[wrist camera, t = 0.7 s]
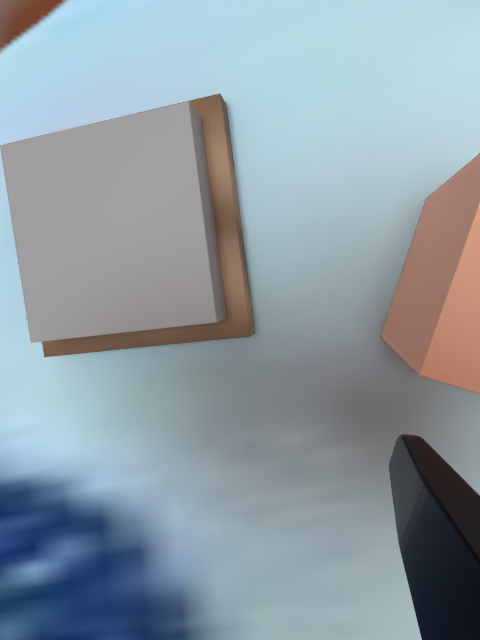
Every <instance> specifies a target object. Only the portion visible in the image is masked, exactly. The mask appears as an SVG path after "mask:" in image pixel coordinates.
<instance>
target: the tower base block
mask: <svg viewBox="0 0 480 640" xmlns="http://www.w3.org/2000/svg"><path fill="white" fill-rule="evenodd" d="M187 102H188V101H187ZM183 103H184V102H183ZM189 103H190V104H191V105H192V107H193V108H194V109H195V111H196V112H197V113H198V114H199V116H200V117H201V118H202V125H203V133H204V141H205V149H206V157H207V165H208V172H209V180H210V188H211V196H212V204H213V212H214V220H215V228H216V236H217V244H218V252H219V260H220V268H221V276H222V283H223V291H224V299H225V307H226V315H227V319H224V320H222V321H219V322H214V323H205V324H196V325H187V326H178V327H169V328H160V329H151V330H142V331H132V332H123V333H114V334H105V335H96V336H87V337H78V338H69V339H60V340H50V341H42V344H43V351H44V357H49V356H59V355H69V354H79V353H88V352H98V351H108V350H118V349H128V348H137V347H147V346H157V345H167V344H177V343H187V342H196V341H206V340H216V339H226V338H236V337H245V336H251V335H252V334H254V326H253V318H252V310H251V301H250V293H249V285H248V277H247V269H246V261H245V253H244V244H243V236H242V228H241V220H240V212H239V204H238V196H237V187H236V179H235V171H234V163H233V155H232V147H231V139H230V131H229V122H228V114H227V106H226V103H225V101H224V100H223V98H222V96H221V94H217V95H212V96H208V97H204V98H200V99H195V100H191V101H189ZM178 104H180V103H178ZM174 105H176V104H174ZM170 106H171V105H170ZM165 107H167V106H165ZM161 108H163V107H161ZM157 109H158V108H157ZM153 110H154V109H153ZM148 111H150V110H148ZM144 112H146V111H144ZM140 113H141V112H140ZM136 114H137V113H136ZM131 115H133V114H131ZM127 116H128V115H127ZM123 117H124V116H123ZM119 118H120V117H119ZM114 119H116V118H114ZM110 120H111V119H110ZM106 121H107V120H106ZM102 122H103V121H102ZM97 123H98V122H97ZM93 124H94V123H93ZM89 125H90V124H89ZM85 126H86V125H85ZM80 127H81V126H80ZM76 128H77V127H76ZM72 129H73V128H72ZM67 130H68V129H67ZM63 131H64V130H63ZM59 132H60V131H59ZM55 133H56V132H55ZM50 134H51V133H50ZM46 135H47V134H46ZM42 136H43V135H42ZM33 138H34V137H33ZM29 139H30V138H29ZM25 140H26V139H25ZM16 142H17V141H16ZM12 143H13V142H12Z"/></svg>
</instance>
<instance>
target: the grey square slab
mask: <svg viewBox="0 0 480 640" xmlns="http://www.w3.org/2000/svg"><path fill="white" fill-rule="evenodd" d="M0 149H1V156H2V162H3V168H4V175H5V181H6V187H7V194H8V200H9V206H10V213H11V219H12V225H13V232H14V238H15V245H16V251H17V257H18V264H19V270H20V276H21V283H22V289H23V295H24V302H25V308H26V314H27V321H28V327H29V333H30V340H31V343H32V342H41V341H50V340H60V339H69V338H78V337H87V336H96V335H105V334H114V333H123V332H132V331H142V330H151V329H160V328H169V327H178V326H187V325H196V324H205V323H214V322H219V321H222V320H224V319H227V315H226V307H225V299H224V291H223V283H222V276H221V268H220V260H219V252H218V244H217V236H216V228H215V220H214V212H213V204H212V196H211V188H210V180H209V172H208V165H207V157H206V149H205V141H204V133H203V125H202V118H201V117H200V116H199V114H198V113H197V112H196V111H195V109H194V108H193V107H192V105H191V104H190V103H189V101H188V102H184V103H180V104H176V105H171V106H167V107H163V108H158V109H154V110H150V111H146V112H141V113H137V114H133V115H128V116H124V117H120V118H116V119H111V120H107V121H103V122H98V123H94V124H90V125H86V126H81V127H77V128H73V129H68V130H64V131H60V132H56V133H51V134H47V135H43V136H38V137H34V138H30V139H26V140H21V141H17V142H13V143H8V144H4V145H0Z"/></svg>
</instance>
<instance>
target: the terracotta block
mask: <svg viewBox="0 0 480 640" xmlns="http://www.w3.org/2000/svg"><path fill="white" fill-rule="evenodd" d="M381 338H382V339H383V340H384V341H385V342H386V343H387V344H388V345H389V346H390V347H391V348H392V349H393V350H394V351H395V352H396V353H397V354H398V355H399V356H400V357H401V358H402V359H403V360H404V361H405V362H406V363H407V364H408V365H409V366H410V367H411V368H412V369H413V370H415V371H416V372H417V373H418V374H419V375H420V376H423V377H426V378H430V379H433V380H436V381H439V382H443V383H446V384H449V385H453V386H456V387H459V388H462V389H466V390H469V391H472V392H476V393H479V394H480V154H478V155H477V156H476V157H475V158H474V159H473V160H471V161H470V162H469V163H468V164H467V165H465V166H464V167H463V168H462V169H461V170H460V171H458V172H457V173H456V174H455V175H454V176H452V177H451V178H450V179H449V180H448V181H447V182H445V183H444V184H443V185H442V186H441V187H439V188H438V189H437V190H436V191H435V192H433V193H432V194H431V195H430V196H429V197H428V198H426V200H425V203H424V206H423V209H422V212H421V215H420V218H419V221H418V225H417V228H416V231H415V234H414V237H413V240H412V243H411V246H410V249H409V252H408V255H407V258H406V261H405V264H404V267H403V270H402V273H401V276H400V279H399V282H398V285H397V288H396V291H395V294H394V297H393V300H392V303H391V306H390V309H389V312H388V316H387V319H386V322H385V325H384V328H383V331H382V334H381Z"/></svg>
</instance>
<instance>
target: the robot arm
mask: <svg viewBox="0 0 480 640" xmlns="http://www.w3.org/2000/svg"><path fill="white" fill-rule="evenodd" d="M389 472H390V480H391V488H392V496H393V503H394V511H395V519H396V527H397V534H398V540H399V546H400V551H401V555H402V559H403V564H404V568H405V572H406V576H407V580H408V584H409V588H410V592H411V597H412V601H413V605H414V609H415V613H416V617H417V621H418V625H419V629H420V634H421V638H422V640H480V495H479V494H478V493H477V492H476V491H475V490H474V489H473V488H472V487H471V486H470V485H469V484H468V483H467V482H466V481H465V480H464V479H463V478H462V477H461V476H460V475H459V474H458V473H457V472H456V471H455V470H454V469H453V468H452V467H451V466H450V465H449V464H448V463H447V462H446V461H445V460H444V459H443V458H442V457H441V456H440V455H439V454H438V453H437V452H436V451H435V450H434V449H433V448H432V447H431V446H430V445H429V444H428V443H427V442H426V441H425V440H424V439H423V438H421V437H420V436H415V435H405V434H402V435H400V436H399V437H398V439H397V441H396V444H395V447H394V450H393V453H392V456H391V459H390V464H389Z"/></svg>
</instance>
